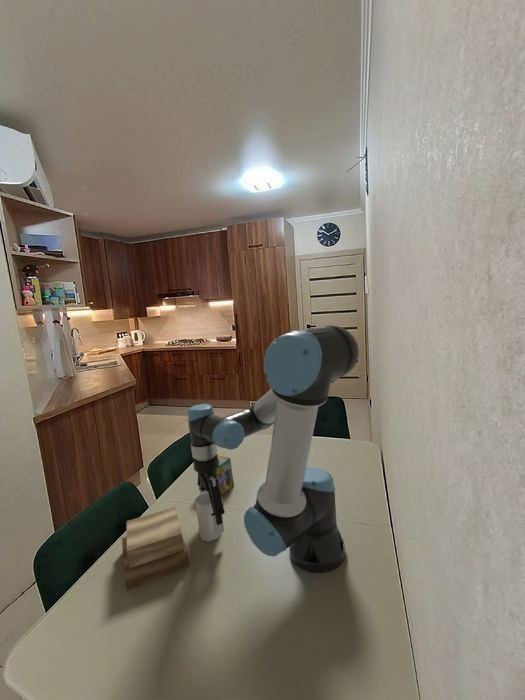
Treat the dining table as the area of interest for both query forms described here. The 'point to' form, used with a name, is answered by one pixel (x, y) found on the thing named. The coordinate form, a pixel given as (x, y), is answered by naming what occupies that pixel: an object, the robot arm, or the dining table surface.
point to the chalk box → (224, 474)
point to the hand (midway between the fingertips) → (212, 520)
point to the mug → (205, 517)
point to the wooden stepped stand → (153, 567)
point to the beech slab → (153, 537)
